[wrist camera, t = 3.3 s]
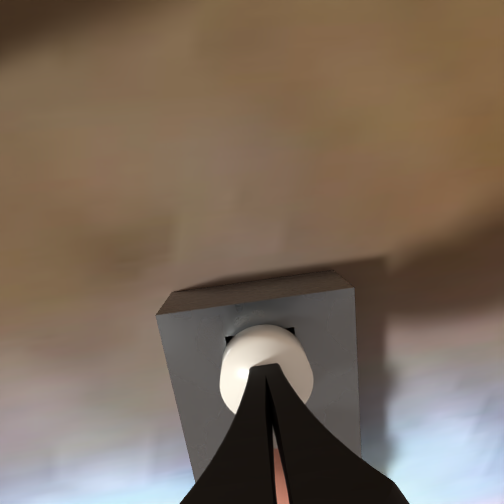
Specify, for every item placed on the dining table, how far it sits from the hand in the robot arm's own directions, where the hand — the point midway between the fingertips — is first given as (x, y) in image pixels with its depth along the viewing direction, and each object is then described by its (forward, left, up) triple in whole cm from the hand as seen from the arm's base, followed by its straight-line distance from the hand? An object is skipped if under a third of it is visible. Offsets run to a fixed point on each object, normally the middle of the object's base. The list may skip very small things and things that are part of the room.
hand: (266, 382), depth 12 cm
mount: (-3, +5, -4) cm, 8 cm away
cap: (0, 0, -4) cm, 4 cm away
